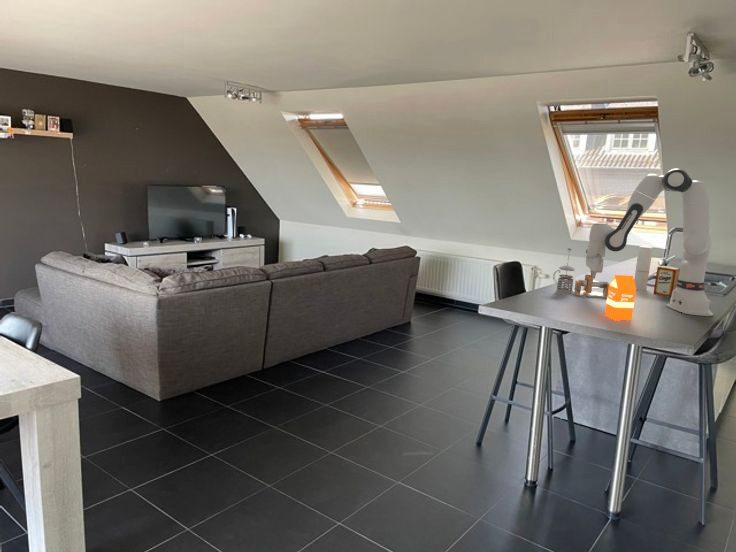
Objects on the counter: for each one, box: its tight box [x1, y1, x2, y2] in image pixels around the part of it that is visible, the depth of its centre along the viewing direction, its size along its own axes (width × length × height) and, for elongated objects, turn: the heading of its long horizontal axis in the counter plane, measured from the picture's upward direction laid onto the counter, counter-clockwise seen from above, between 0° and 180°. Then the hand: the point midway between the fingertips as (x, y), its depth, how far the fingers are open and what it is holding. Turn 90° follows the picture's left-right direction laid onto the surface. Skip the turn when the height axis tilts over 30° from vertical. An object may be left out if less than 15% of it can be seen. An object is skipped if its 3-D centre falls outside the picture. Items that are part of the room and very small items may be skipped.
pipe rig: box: [572, 279, 610, 299], centre depth 295 cm, size 11×19×8 cm, turn 82°
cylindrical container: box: [634, 245, 654, 291], centre depth 317 cm, size 7×7×25 cm
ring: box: [582, 274, 594, 293], centre depth 295 cm, size 9×2×9 cm, turn 172°
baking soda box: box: [653, 265, 680, 298], centre depth 304 cm, size 10×6×16 cm
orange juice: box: [604, 274, 637, 321], centre depth 246 cm, size 8×9×20 cm
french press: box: [552, 247, 576, 296], centre depth 294 cm, size 10×12×25 cm
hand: (592, 277), depth 294 cm, fingers closed, pressing on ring
